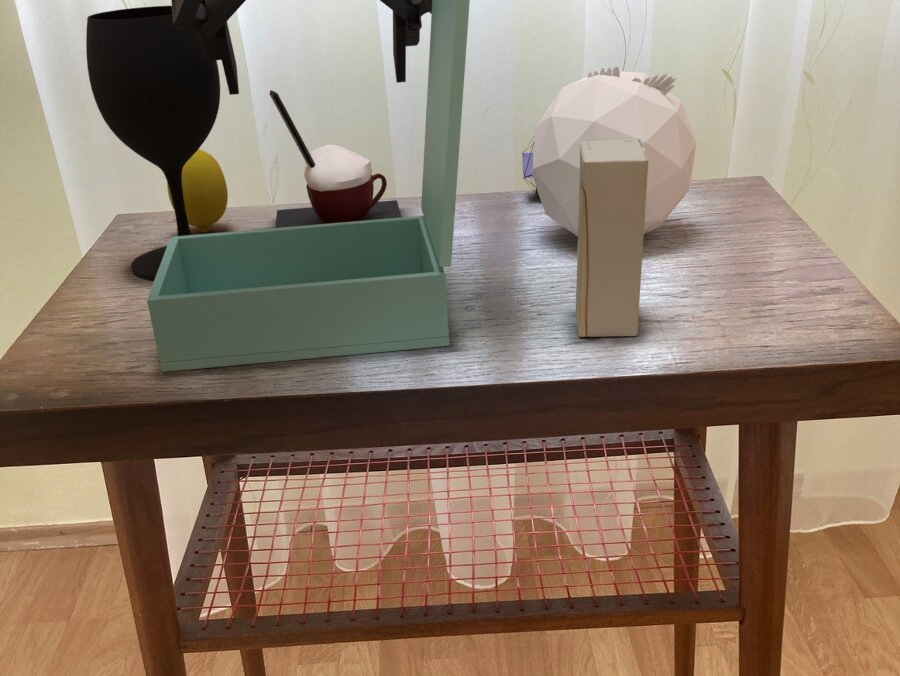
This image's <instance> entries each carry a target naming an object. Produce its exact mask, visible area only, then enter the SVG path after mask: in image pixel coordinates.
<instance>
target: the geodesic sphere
mask: <svg viewBox="0 0 900 676" xmlns="http://www.w3.org/2000/svg"><path fill="white" fill-rule="evenodd" d="M619 69H620V68H619V67H618V66H615V67H614V68H611V67H608V68H606V69H605V68H604V67H603V68H601V69H600V70H598V71H596V70H595V71H593V73H592V72H588V73H587V76H585V77H582V78H580V79H578V80H576V81H573V82H571V83H569V84H567V85H565V86H563V87H561V88H560V90H559V91H558V93H557V95H556V96H555V98H554V99H553V100H552V102H551V103H550V105H549V106H548V108H547V109H546V111H545V112H544V114H543V115H542V117H541V118H540V119H539V121H538V122H537V124H536V125H535V127H534V136H535V137H534V136H533V143H534V145H533V150H532V151H533V152H532V153H533V165H532V176H533V178H532V179H533V182H534V186H536V187H535V189H536V188H537V191H538V195H539V200H540V202H541V205H542V207H543V211H544V214H545V215H547V217H549V218H550V219H552V220H554V221H555V222H556V223H557V224H559V225H561V227H563V228H564V229H566V230H568V231H569V232H570V233H571V234H574V235H575V236H576V237H578V226H579V188H580V141H581V140H613V139H638V138H640V139H641V141H642V143H643V145H644V148H645V150H646V153H647V156H648V176H647V191H646V206H645V222H644V235H645V234H647V233H650V232H652V231H654V230H656V229H658V228H660V227H661V226H662V225H663V223H664V222H665V221H666V220H667V218H668V217H669V216H670V215H671V214H672V212H673V211H674V210H675V208H676V207H677V206H678V205H679V203H680V202H681V201H682V200H683V199H684V197H685V196H686V195H687V193H688V192H690V188H691V181H692V174H693V167H694V162H695V156H696V148H697V139H696V137H695V135H694V132H693V128H692V127H691V124H690V121H689V118H688V116H687V113H686V110H685V108H684V105H683V102H682V100H681V99H679V98H678V97H677V96H675V95H674V94H673V93H671V92H670V91H672V90H673V88H674V87H675V84H673V83H674V82H676V80H677V78H676V77H674V78H673V76H672V75H671V76H669V77H667V76H668V74H667V73H665V74H663V75H661V76H660V77H659V75H658V74H657V75H654V76H653V77H651V76H650V75H649V74H647V73H646V72H639V71H637V72H636V71H624V70H619ZM666 77H667V78H666Z"/></svg>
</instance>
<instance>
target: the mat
mask: <svg viewBox="0 0 900 676" xmlns="http://www.w3.org/2000/svg"><path fill="white" fill-rule="evenodd" d="M275 216H276V217H275V227H274V228H282V227H294V226H306V225H318V224H328V223H326V222H324V221H323V220H322V219H320V218H319V217H318V216H317V215H316V213H315V211H314V209H313V207H312V206H309V207H298V208H285V209H277V210H276V215H275ZM401 217H402V214H401V210H400V208H399V202H398V200H396V199H394V200H393V199H392V200H383V201H378V202H377V203H376V204H375V205H374V206H373V207H372V208H371V209H370V211H369V213H368V215H366V217H365V218H364V219H362V220H360V221H366V220H378V219H389V218H401Z"/></svg>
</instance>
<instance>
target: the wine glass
mask: <svg viewBox="0 0 900 676" xmlns="http://www.w3.org/2000/svg"><path fill="white" fill-rule="evenodd" d="M86 19H87V20H86V37H85V39H86V40H85V45H86V47H85V48H86V50H85V51H86V52H85V53H86V65H87V73H88V79H89V83H90V88H91V92H92V96H93V98H94V101H95V104H96V107H97V109H98V111H99V113H100V114H101V117H102V119H103V120H104V122H105V124H106V125H107V127H108V128H109V129H110V131H111V133H113V134H114V136H116V138H117V139H118V140H119V141H121V143H122V144H124V145H125V146H126V147H127V148H128V149H130V150H131V151H132V152H134V153H135V154H137V156H139V157H141V158H142V159H144V160H146V161H148V162H149V163H151V164H152V165H154V166H155V167H157V168H158V169H160V170H161V172H162V173H163V174H164V177H165V179H166V184H167V183H168V186H169V189H170V193H171V197H172V201H173V206H174V209H173V211H174V215H175V221H176V229H177V236H187V235H193V234H192V230H191V228H190V225H189V223H188V220H187V215H186V210H185V203H184V197H183V189H182V169H183V167H184V165H185V163H186V162H187V161H188V160H189V159H190V158H191V157H192V156H193V155H194V154H195V153H196V151H197V150H198V149H200V148H201V146H203V144H204V143H205V141H206V139H207V138H208V137H209V135H210V134H211V132H212V130H213V127H214V125H215V124H216V120H217V118H218V114H219V110H220V109H219V108H220V102H221V79H220V78H221V77H220V71H219V65H218V60H213V61H210V60H209V59H208V58H207V56H206V52H205V48H204V44H203V41H202V37H201V34H200V33H199V32H198V31H196V30H193V29H190V30H189V31H188V32H186V33H179V32H176V31H175V30H174V28H173V16H172V5H157V6H156V5H155V6H153V5H152V6H142V7H130V8H122V9H117V10H116V9H115V10H108V11H102V12H97V13H94V14H91V15H88V16H87V18H86ZM167 246H168V245H165V246H162V247H158V248H155V249H152V250H149V251H146V252H144V253H142V254H140V255H139V256H137V257H136V258H134V259H133V260H132V262H131V263H130V264H131V265H130V268H131V272H132V273H133V274H134V275H135V276H137V277H139V278H141V279H145V280H149V281H154V280H155V277H156V275H157V272H158V269H159V267H160V264H161V261H162V259H163V256H164V253H165V251H166V248H167Z"/></svg>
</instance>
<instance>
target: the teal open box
mask: <svg viewBox="0 0 900 676" xmlns="http://www.w3.org/2000/svg"><path fill="white" fill-rule="evenodd" d="M166 246H167V248H166V251H165V253H164V256H163V259H162V261H161V264H160V267H159V269H158V272H157V275H156V277H155V280H153V283H152V285H151V288H150V291H149V293H148V296H147V299H146V304H147V307H148V308H147V309H148V312H149V316H150V322H151V326H152V331H153V336H154V341H155V345H156V349H157V354H158V360H159V363H160V369H161V372H162V373H165V372H177V371H188V370H189V371H190V370H198V369H199V370H200V369H208V368H209V369H210V368H220V367H231V366H232V367H233V366H242V365H243V366H244V365H254V364H264V363H265V364H266V363H276V362H286V361H288V362H289V361H298V360H310V359H321V358H332V357H341V356H353V355H363V354H365V355H366V354H374V353H375V354H376V353H386V352H396V351H407V350H408V351H409V350H420V349H430V348H431V349H432V348H441V347H449V346H451V344H450V343H451V342H450V328H449V327H450V325H449V314H448V313H449V309H448V293H447V275H446V272H445V267H440V265H439V262H438V259H437V256H436V253H435V250H434V247H433V244H432V241H431V237H430V234H429V231H428V228H427V225H426V222H425V219H424V216H423V215H416V216H415V215H414V216H401V218H389V219H378V220H366V221H354V222H342V223H330V224H318V225H306V226H294V227H282V228H275V227H273V228H260V229H259V228H258V229H249V230H248V229H247V230H237V231H236V230H235V231H226V232H224V231H223V232H213V233H202V234H201V233H199V234H192V235H187V236H178V235H176V236H170V239H169V241H168V243H167V245H166Z"/></svg>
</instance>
